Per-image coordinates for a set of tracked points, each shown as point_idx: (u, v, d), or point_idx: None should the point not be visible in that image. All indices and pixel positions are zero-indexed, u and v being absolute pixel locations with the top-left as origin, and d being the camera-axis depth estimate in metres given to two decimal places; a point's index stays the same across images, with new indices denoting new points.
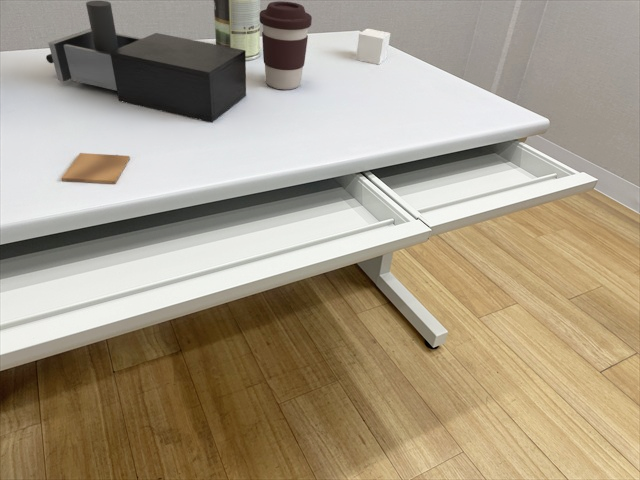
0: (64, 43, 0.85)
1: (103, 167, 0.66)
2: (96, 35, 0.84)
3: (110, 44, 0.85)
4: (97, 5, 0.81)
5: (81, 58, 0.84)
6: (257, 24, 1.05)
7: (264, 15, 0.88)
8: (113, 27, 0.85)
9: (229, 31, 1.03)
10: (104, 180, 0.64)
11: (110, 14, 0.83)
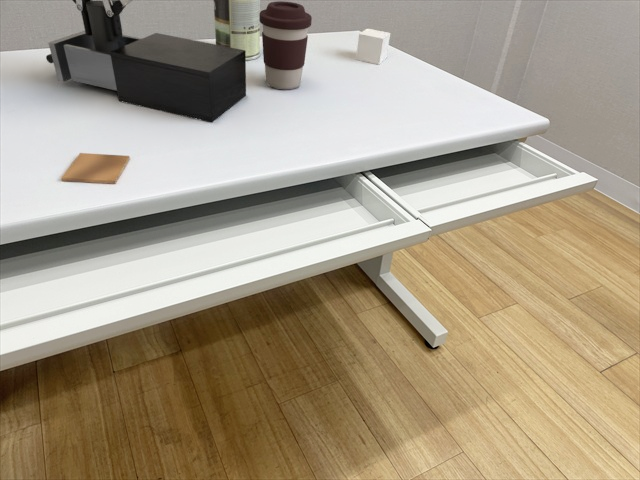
0: (64, 43, 0.85)
1: (103, 167, 0.66)
2: (96, 35, 0.84)
3: (110, 44, 0.85)
4: (97, 5, 0.81)
5: (81, 58, 0.84)
6: (257, 24, 1.05)
7: (264, 15, 0.88)
8: None
9: (229, 31, 1.03)
10: (104, 180, 0.64)
11: None
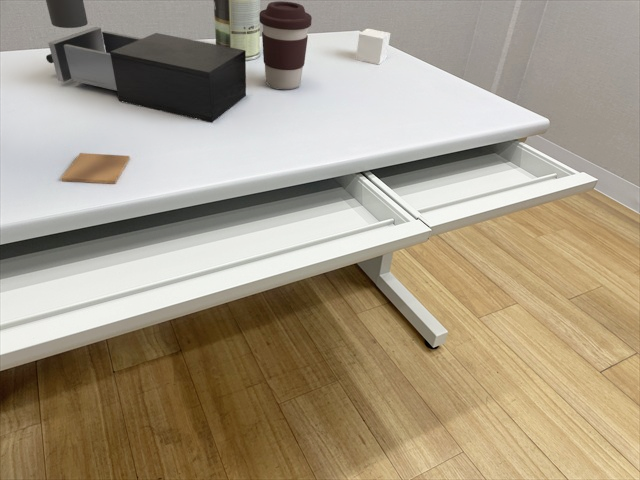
0: (64, 43, 0.85)
1: (103, 167, 0.66)
2: None
3: None
4: None
5: (81, 58, 0.84)
6: (257, 24, 1.05)
7: (264, 15, 0.88)
8: None
9: (229, 31, 1.03)
10: (104, 180, 0.64)
11: None
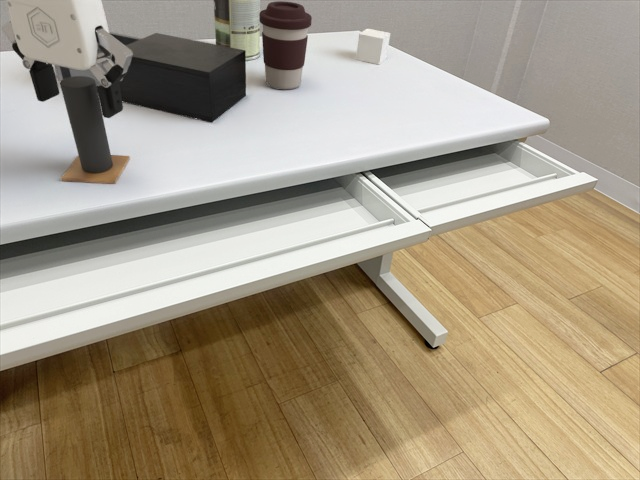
0: None
1: None
2: (75, 124, 0.60)
3: (95, 135, 0.62)
4: (76, 86, 0.58)
5: None
6: (257, 24, 1.05)
7: (264, 15, 0.88)
8: (99, 112, 0.61)
9: (229, 31, 1.03)
10: (104, 180, 0.64)
11: (95, 95, 0.59)
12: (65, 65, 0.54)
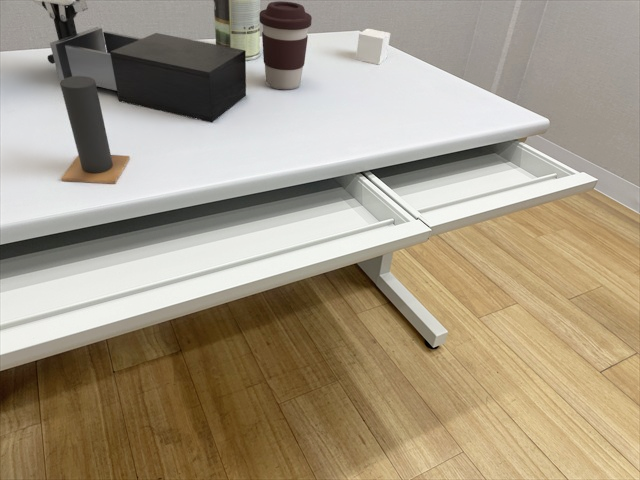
0: (65, 43, 0.85)
1: None
2: (75, 124, 0.60)
3: (95, 135, 0.62)
4: (76, 86, 0.58)
5: (82, 58, 0.84)
6: (257, 24, 1.05)
7: (264, 15, 0.88)
8: (99, 112, 0.61)
9: (229, 31, 1.03)
10: (104, 180, 0.64)
11: (95, 95, 0.59)
12: (55, 2, 0.82)
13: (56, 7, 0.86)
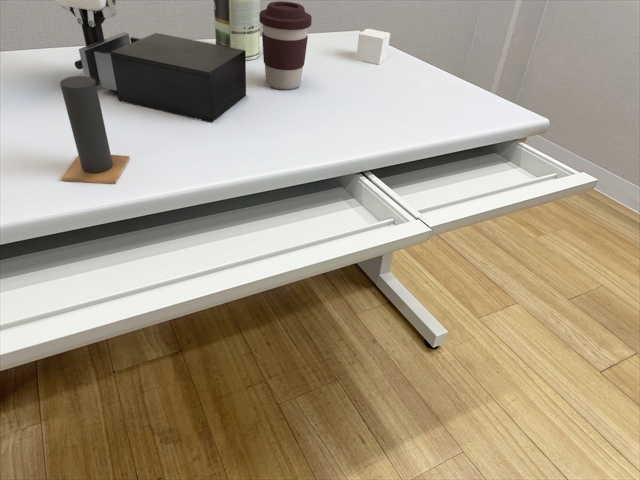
0: (94, 49, 0.84)
1: None
2: (75, 124, 0.60)
3: (95, 135, 0.62)
4: (76, 86, 0.58)
5: None
6: (257, 24, 1.05)
7: (264, 15, 0.88)
8: (99, 112, 0.61)
9: (229, 31, 1.03)
10: (104, 180, 0.64)
11: (95, 95, 0.59)
12: (85, 7, 0.81)
13: (84, 12, 0.85)
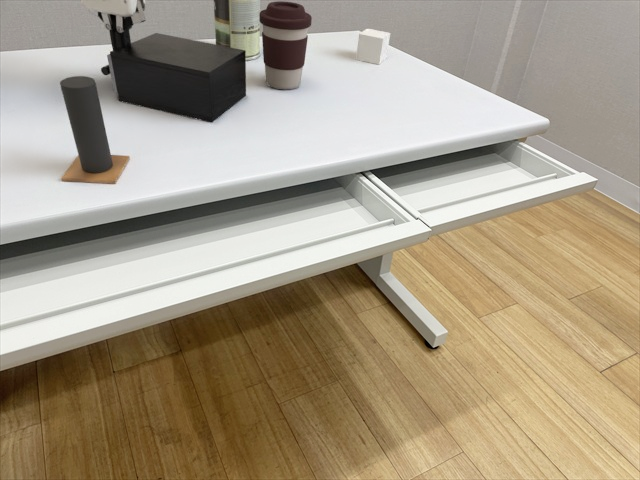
0: None
1: None
2: (75, 124, 0.60)
3: (95, 135, 0.62)
4: (76, 86, 0.58)
5: None
6: (257, 24, 1.05)
7: (264, 15, 0.88)
8: (99, 112, 0.61)
9: (229, 31, 1.03)
10: (104, 180, 0.64)
11: (95, 95, 0.59)
12: (114, 13, 0.80)
13: (112, 18, 0.84)
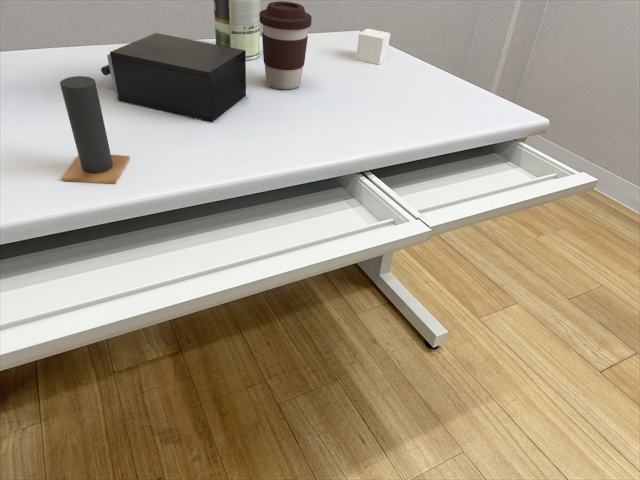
0: None
1: None
2: (75, 124, 0.60)
3: (95, 135, 0.62)
4: (75, 86, 0.58)
5: None
6: (257, 24, 1.05)
7: (264, 15, 0.88)
8: (99, 112, 0.61)
9: (229, 31, 1.03)
10: (104, 180, 0.64)
11: (95, 95, 0.59)
12: None
13: None
